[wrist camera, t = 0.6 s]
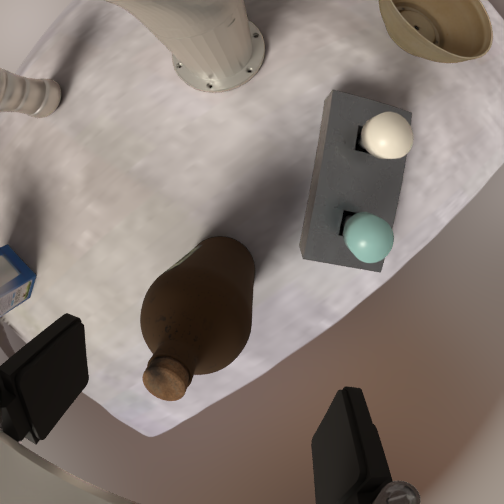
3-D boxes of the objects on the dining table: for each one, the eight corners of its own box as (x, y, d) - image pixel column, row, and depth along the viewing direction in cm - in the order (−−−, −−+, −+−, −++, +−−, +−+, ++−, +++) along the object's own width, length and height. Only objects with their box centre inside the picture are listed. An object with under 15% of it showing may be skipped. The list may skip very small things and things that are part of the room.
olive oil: (273, 255, 42) (270, 370, 18) (237, 314, 44) (202, 450, 20) (205, 217, 41) (116, 287, 17) (174, 280, 44) (86, 388, 20)
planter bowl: (426, -10, 27) (454, -39, 17) (469, 72, 31) (509, 57, 21) (344, -6, 30) (360, -45, 20) (390, 84, 34) (424, 62, 23)
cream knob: (350, 120, 32) (373, 106, 23) (384, 129, 32) (415, 119, 23) (344, 155, 33) (367, 151, 24) (378, 163, 33) (409, 163, 24)
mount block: (324, 100, 35) (332, 89, 30) (394, 119, 35) (411, 112, 29) (299, 245, 41) (303, 258, 35) (367, 258, 41) (380, 272, 35)
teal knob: (336, 201, 35) (355, 212, 26) (370, 208, 34) (398, 222, 26) (328, 237, 36) (345, 258, 27) (362, 243, 36) (386, 266, 27)
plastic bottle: (72, 90, 37) (-19, 69, 17) (52, 125, 38) (-41, 121, 19) (52, 76, 36) (-33, 55, 17) (34, 109, 38) (-53, 102, 18)
